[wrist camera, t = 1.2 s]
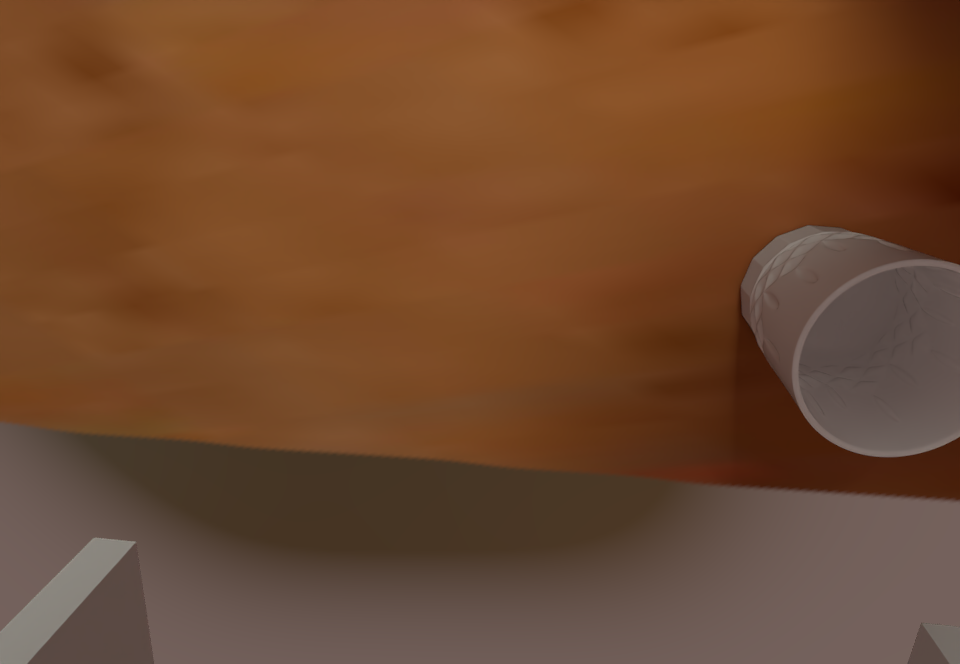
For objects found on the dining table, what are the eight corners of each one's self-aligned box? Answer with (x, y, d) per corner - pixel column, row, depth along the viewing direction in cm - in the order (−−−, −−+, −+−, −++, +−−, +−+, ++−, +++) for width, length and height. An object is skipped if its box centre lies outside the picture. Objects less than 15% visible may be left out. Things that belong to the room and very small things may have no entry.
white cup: (750, 382, 37) (821, 482, 28) (708, 246, 35) (768, 304, 25) (905, 333, 35) (1035, 421, 26) (870, 188, 33) (999, 226, 24)
